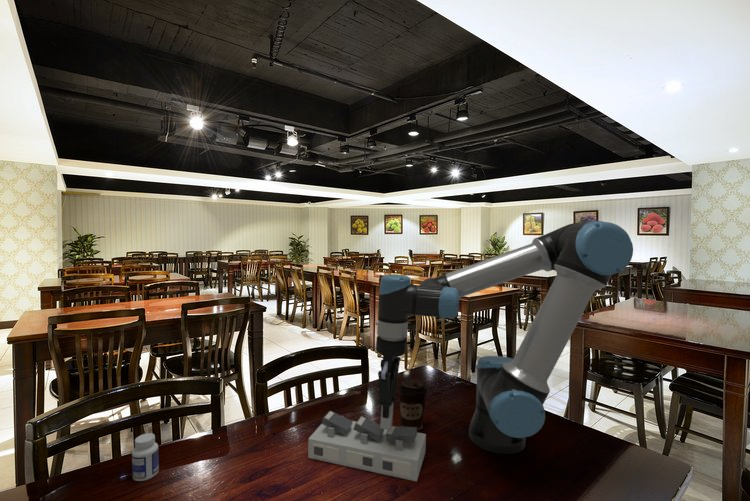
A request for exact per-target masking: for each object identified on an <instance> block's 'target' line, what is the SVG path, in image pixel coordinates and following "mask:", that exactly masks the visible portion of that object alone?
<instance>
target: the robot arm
mask: <svg viewBox="0 0 750 501" xmlns="http://www.w3.org/2000/svg"><path fill="white" fill-rule="evenodd" d="M633 246H634V245H633V242H632V240H631V238H630V235H629V234H628V232H627V231H626V230H625V229H624V228H622V227H621V226H619V225H618V224H616V223H613V222H609V221H603V220H594V221H590V222H589V221H588V222H573V223H569V224H565V225H564V226H562V227H558V228H557V229H555V230H553V231H550V232H547V233H546V234H545V233H544V234H542V235H541V236H538V237H535V238H533V239H532V242H531V243H529V244H527V245H524V246H521V247H518V248H515V249H511V250H510V251H507V252H504V253H502V254H498V255H496V256H493V257H490V258H487V259H483V260H482V261H478V262H475V263H473V264H470V265H467V266H464V267H462V268H459V269H456V270H453V271H450V272H448V273H445V274H443V275H439V276H437V277H436V276H435V277H429V278H426V279H424V280H422V281H421V283H420V284H418V285H417V284H413V283H412V282H411V277H410V276H408V275H401V274H394V273H393V274H385V275H383V276H382V277H381V279H380V284H379V293H378V306H377V307H378V310H377V311H378V312H377V321H376V322H375V325H376V326H377V329H376V330H377V331H376V334H377V336H376V344H375V351H376V352H377V353H378V354H380V355H382V359H381V360H380V369H381V370H378V372H377V375H378V376H377V377H378V399H379V400H378V402H377V403H378V405H379V406H381V408H380V423H379V425H380V428H382V429H386V430H391V428H392V426H393V416H394V403H397V401H398V398H395V397H396V396H397V388H398V387H397V386H398V379H399V371H400V370H399V369H400V363H401V357H402V356H403V355H405V354H406V351H407V337H408V328H409V327H408V326H409V325H408V324H409V316H410V315H411V316H421V317H429V318H441V319H454V318H456V317H458V314H459V308H460V298H463V297H466V296H469V295H472V294H474V293H477V292H480V291H483V290H486V289H491V288H493V287H495V286H498V285H501V284H504V283H507V282H509V281H510V282H511V281H513V280H516V279H519V278H521V277H524V276H527V275H530V274H533V273H536V272H539V271H545V272H551V271H554V270H555V272H556V275H555V277H554V279H553V282H552V283H551V285H550V288H549V289H548V291H547V293H546V295H545V297H544V298H543V302H542V303H541V304H540V307H539V309H538V311H537V313H536V314H535V317H534V319H533V321H532V322H531V325H530V326H529V327H528V330H527V332H526V333H525V335H524V337H523V340H522V342H521V344H520V346H518V347H519V348H518V349H517V351H516V353H515V355H514V357H513V358H512V357H506V356H500V355H498V356H497V355H486V356H481V357H480V358H479V359H478V360H477V367H476V399H475V400H476V401H475V404H476V405H475V411H474V413H473V416H472V418H471V420H470V424H469V426H468V427H469V428H468V437H469V440H471V442H472V443H473V444H474V445H475V446H477V447H479V448H480V449H483V450H485V451H487V452H490V453H493V454H494V453H495V454H498V455H513V454H518V453H520V452H522V451H523V450H524V449H525V447H526V438H529V437H531V436H532V437H533V435H535V434H537V433H538V432H539V431H541V429H542V427H543V426H544V424H545V420H546V412H545V408H544V403H545V401H546V399H547V398H548V396H549V394H550V392H551V389H550V386H549V384H548V380H549V378H550V376H551V374H552V372H553V370H554V369H555V367H556V365H557V363H558V361H559V359H560V357H561V356H562V353H563V351H564V349H565V348H566V346H567V343H568V342H569V340H570V338H571V337H572V334H573V333H574V331H575V329H576V327H577V325H578V323H579V321H580V319H581V317H582V315H583V314H584V313H585V312H584V311H585V310H586V308H587V306H588V304H589V302H590V301H591V298H592V297H593V294H594V292H596V291H598V290H601V289H604V288H606V287H607V285H608V283H609V281H610V279H611V278H612V276H613V275H616V274H618V273H620V272H622V271H623V270H625V269H626V268H627V267H628V266H629V264H630V263H631V261H632V258H633V255H634V247H633Z"/></svg>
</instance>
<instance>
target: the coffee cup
mask: <svg viewBox="0 0 750 501" xmlns="http://www.w3.org/2000/svg"><path fill="white" fill-rule="evenodd" d="M398 392H399V409H400V410H399V411H400V423H401V427H417V431H419V430H422V429H423V426H424V424H423V419H424V413H425V407H426V395H427V393H428V387H427V386H426V382H424V381H422V380H420V379H419V380H418V379H407V380H404V381H402V382H401V384H400V386H399V388H398Z"/></svg>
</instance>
